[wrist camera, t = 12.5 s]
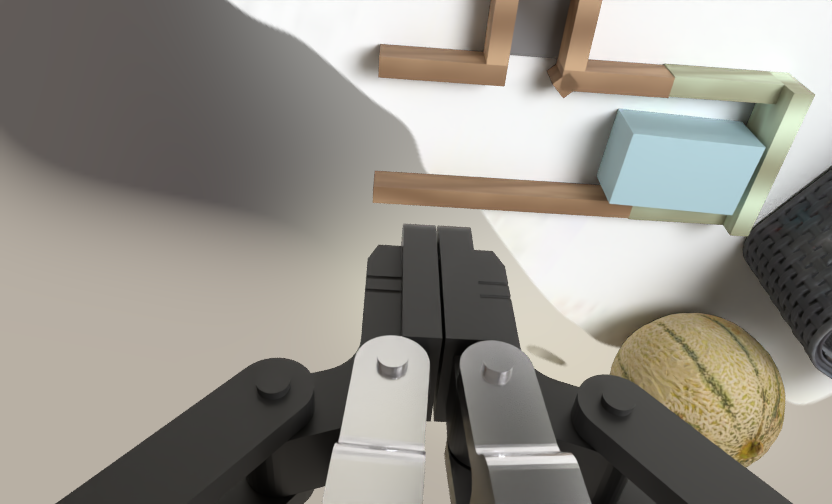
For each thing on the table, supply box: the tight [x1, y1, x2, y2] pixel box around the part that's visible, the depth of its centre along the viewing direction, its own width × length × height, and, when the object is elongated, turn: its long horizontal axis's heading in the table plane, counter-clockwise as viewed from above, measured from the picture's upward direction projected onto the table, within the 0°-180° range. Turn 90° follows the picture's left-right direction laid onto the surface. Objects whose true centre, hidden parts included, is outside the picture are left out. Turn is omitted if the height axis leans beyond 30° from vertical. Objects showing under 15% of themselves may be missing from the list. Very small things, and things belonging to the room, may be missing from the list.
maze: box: [373, 0, 815, 236], centre depth 47 cm, size 21×30×4 cm
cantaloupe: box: [610, 313, 785, 468], centre depth 59 cm, size 15×15×15 cm
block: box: [597, 109, 766, 215], centre depth 51 cm, size 6×10×4 cm, turn 83°
